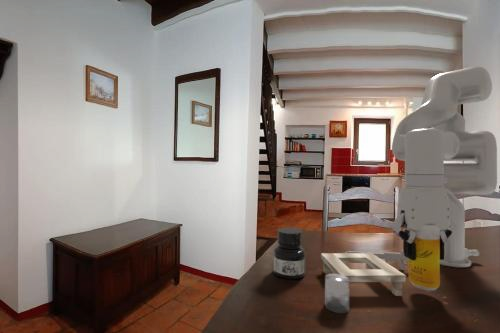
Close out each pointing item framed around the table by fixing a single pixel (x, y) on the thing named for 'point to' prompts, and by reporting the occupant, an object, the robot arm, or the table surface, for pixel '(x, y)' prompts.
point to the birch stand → (372, 273)
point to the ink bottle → (289, 254)
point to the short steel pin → (337, 293)
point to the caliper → (389, 257)
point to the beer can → (426, 259)
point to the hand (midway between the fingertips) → (423, 257)
